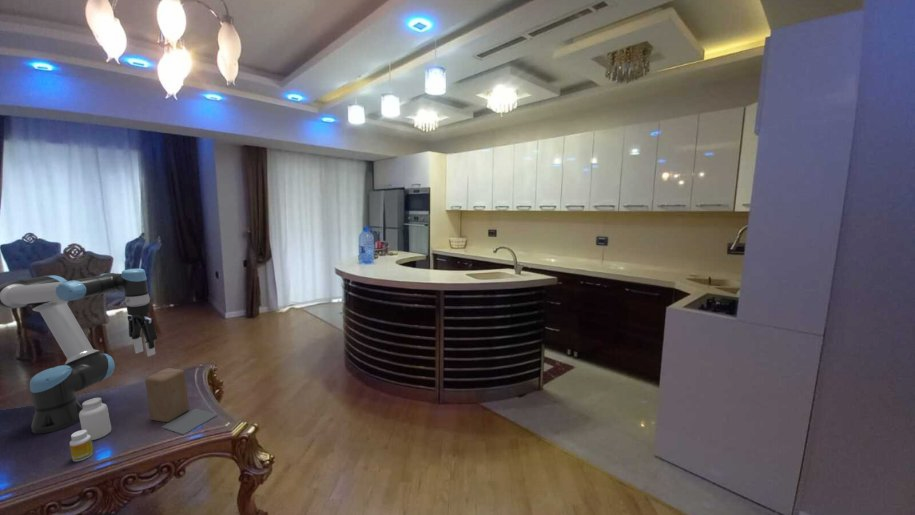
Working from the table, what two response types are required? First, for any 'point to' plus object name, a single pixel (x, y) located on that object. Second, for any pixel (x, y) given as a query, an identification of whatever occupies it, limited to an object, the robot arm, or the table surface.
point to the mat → (189, 421)
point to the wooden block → (167, 394)
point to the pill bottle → (95, 418)
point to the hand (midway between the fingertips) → (145, 353)
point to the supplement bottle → (81, 445)
